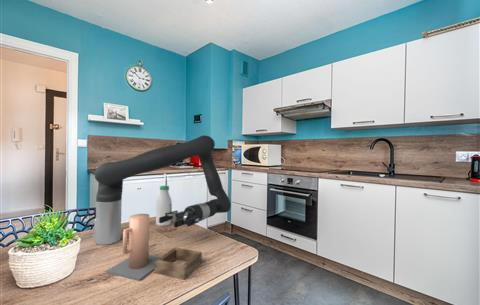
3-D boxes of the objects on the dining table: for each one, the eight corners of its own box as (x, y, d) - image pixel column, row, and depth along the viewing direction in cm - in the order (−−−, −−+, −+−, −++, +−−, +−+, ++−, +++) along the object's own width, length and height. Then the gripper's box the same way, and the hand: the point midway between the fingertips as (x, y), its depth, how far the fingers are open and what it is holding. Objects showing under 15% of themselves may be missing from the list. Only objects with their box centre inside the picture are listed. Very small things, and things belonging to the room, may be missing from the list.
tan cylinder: (141, 257, 76) (142, 212, 76) (152, 262, 73) (153, 215, 73) (117, 268, 69) (118, 218, 69) (128, 274, 66) (128, 222, 65)
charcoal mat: (106, 272, 67) (106, 270, 67) (137, 254, 80) (137, 252, 80) (139, 281, 63) (139, 279, 63) (167, 260, 76) (167, 258, 76)
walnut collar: (154, 272, 68) (154, 261, 68) (174, 256, 78) (174, 247, 78) (184, 279, 65) (184, 268, 65) (201, 262, 75) (202, 252, 75)
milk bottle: (166, 227, 109) (167, 187, 109) (152, 225, 111) (153, 186, 111) (174, 222, 117) (174, 185, 117) (161, 221, 118) (161, 184, 118)
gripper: (186, 202, 98) (155, 209, 85) (209, 206, 91) (179, 216, 77) (185, 218, 98) (154, 228, 85) (209, 224, 91) (179, 236, 77)
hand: (166, 222), depth 81 cm, fingers open, 8 cm apart
